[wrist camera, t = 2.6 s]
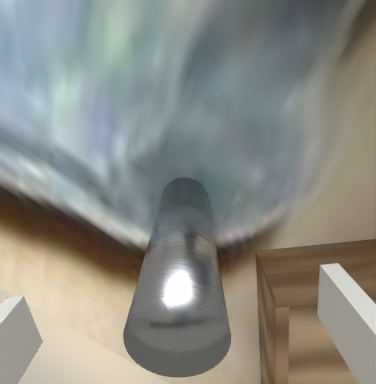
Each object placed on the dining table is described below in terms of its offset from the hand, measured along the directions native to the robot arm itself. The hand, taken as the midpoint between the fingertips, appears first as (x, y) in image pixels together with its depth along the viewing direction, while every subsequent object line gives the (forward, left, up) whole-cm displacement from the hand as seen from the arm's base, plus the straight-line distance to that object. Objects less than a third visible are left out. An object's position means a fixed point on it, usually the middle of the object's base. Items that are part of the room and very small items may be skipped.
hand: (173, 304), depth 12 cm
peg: (0, 0, -12) cm, 12 cm away
